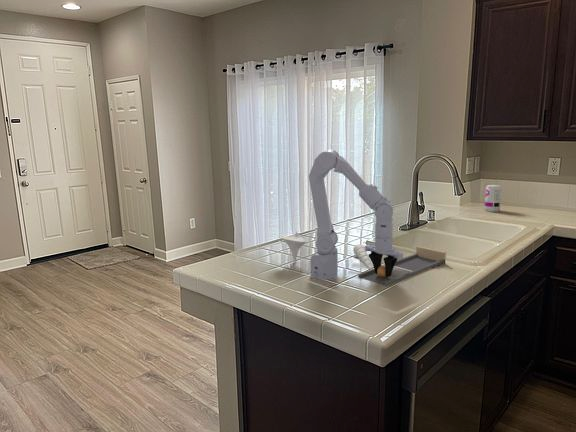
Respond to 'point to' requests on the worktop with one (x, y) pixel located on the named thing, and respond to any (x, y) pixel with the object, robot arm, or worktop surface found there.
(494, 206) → the supplement can
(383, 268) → the ball
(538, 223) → the worktop surface
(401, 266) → the divided tray
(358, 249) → the unicorn horn
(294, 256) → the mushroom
